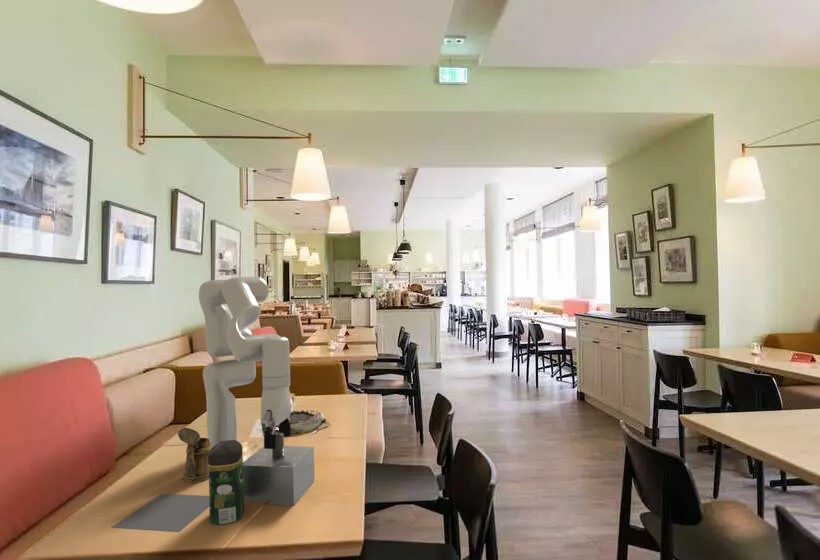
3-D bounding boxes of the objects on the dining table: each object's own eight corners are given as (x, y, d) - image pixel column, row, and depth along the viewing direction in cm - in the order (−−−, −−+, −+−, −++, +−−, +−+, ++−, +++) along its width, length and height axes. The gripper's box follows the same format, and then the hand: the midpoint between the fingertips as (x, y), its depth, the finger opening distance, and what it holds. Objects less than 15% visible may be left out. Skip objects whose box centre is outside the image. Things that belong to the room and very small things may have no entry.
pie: (294, 442, 173) (294, 429, 174) (244, 432, 188) (244, 420, 188) (343, 422, 197) (343, 410, 197) (296, 414, 212) (295, 403, 212)
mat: (111, 529, 114) (111, 527, 114) (161, 495, 132) (161, 493, 132) (179, 534, 111) (179, 531, 111) (221, 498, 129) (221, 496, 129)
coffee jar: (214, 510, 123) (212, 438, 123) (246, 506, 124) (244, 436, 124) (205, 529, 113) (203, 452, 113) (240, 525, 115) (238, 449, 115)
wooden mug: (170, 491, 134) (168, 428, 134) (191, 472, 148) (189, 414, 148) (201, 490, 134) (200, 427, 134) (219, 471, 148) (218, 413, 148)
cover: (240, 502, 127) (238, 442, 127) (265, 478, 142) (264, 425, 142) (294, 505, 124) (292, 444, 124) (314, 480, 139) (313, 426, 139)
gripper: (277, 374, 142) (278, 431, 142) (248, 388, 125) (250, 453, 125) (301, 375, 141) (302, 432, 141) (275, 388, 124) (277, 454, 124)
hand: (277, 442), depth 133 cm, fingers open, 9 cm apart
